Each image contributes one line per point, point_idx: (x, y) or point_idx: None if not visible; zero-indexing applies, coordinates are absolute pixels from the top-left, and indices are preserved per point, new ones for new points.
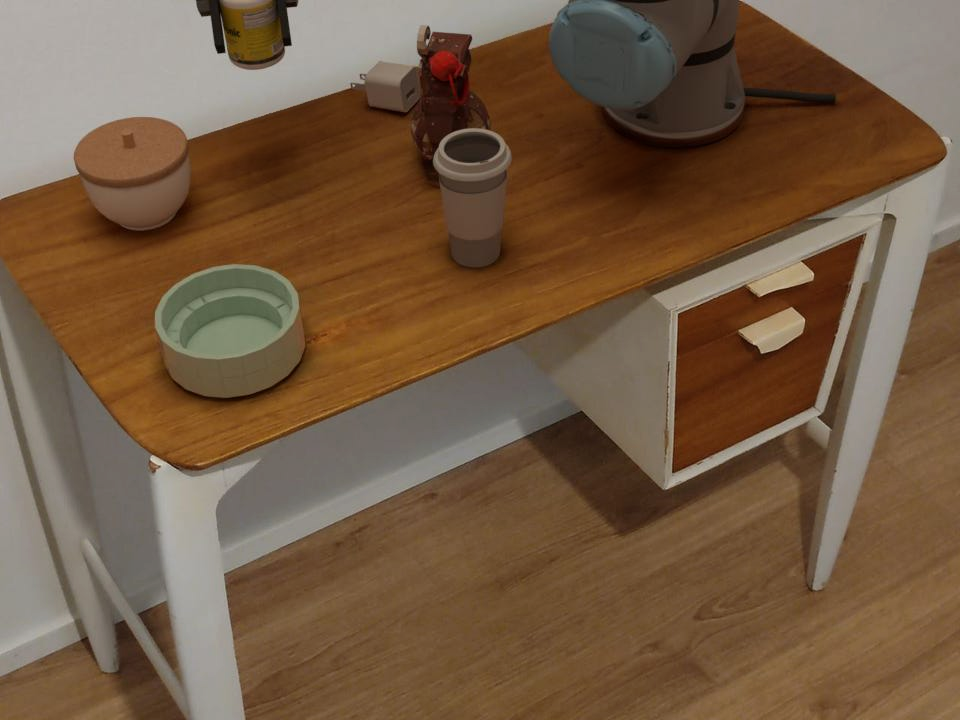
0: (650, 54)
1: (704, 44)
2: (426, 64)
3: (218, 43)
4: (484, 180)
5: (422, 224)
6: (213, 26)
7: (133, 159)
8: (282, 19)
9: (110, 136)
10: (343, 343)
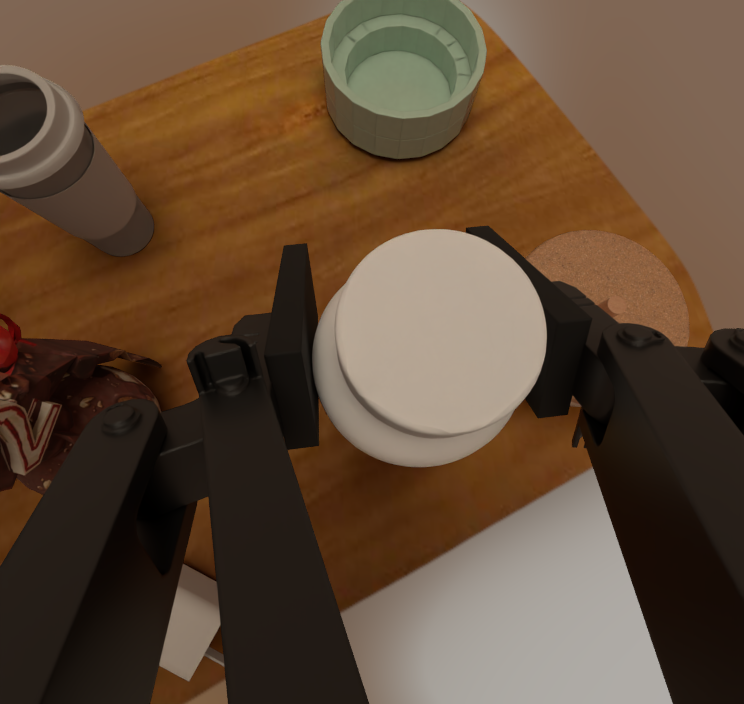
0: None
1: None
2: (18, 373)
3: (478, 228)
4: (13, 95)
5: (183, 288)
6: (503, 243)
7: (586, 273)
8: (297, 262)
9: None
10: (287, 102)
